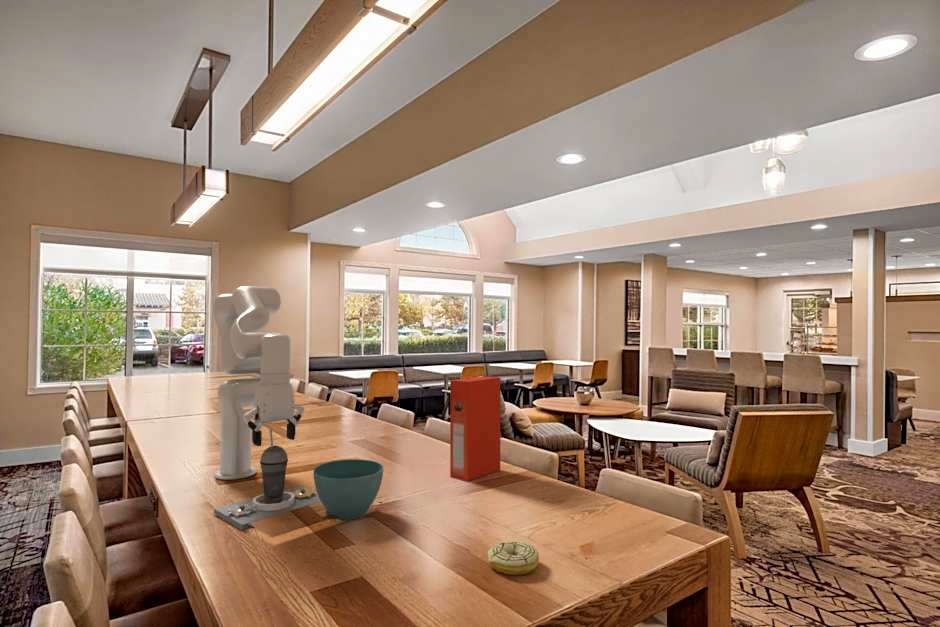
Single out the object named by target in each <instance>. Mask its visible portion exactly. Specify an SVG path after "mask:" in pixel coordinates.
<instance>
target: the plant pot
mask: <svg viewBox="0 0 940 627" xmlns="http://www.w3.org/2000/svg"><path fill="white" fill-rule="evenodd" d="M383 475H384V465H383V464H382V463H380V462H378V461H375V460H370V459H363V458H362V459H359V458H357V459H355V458H353V459H352V458H351V459H349V458H347V459H338V460H332V461H328V462H324V463H320V464H319V465H317V466H315V467H314V468H313V482H314V487H315V490H316V491H315V492H316V493H317V494H318V496H319V498H320V500H321V502H320V503H321V504H322V506H323V507H324V508H325V510H326V511H327V512H328V513H329V515H333V518H334V519H337V520H341V519H342V520H344V521H346V520H348V519H350V520H354V518H355V519H359V518H361V517H362V516H364V515H365V513H367V511H368V510H369V508H371V506H372V505H373V503H374V501H375V500H376V498H377V496H378V493H379V491H380V489H381V486H382V481H383ZM342 520H341V521H342ZM348 521H349V520H348Z"/></svg>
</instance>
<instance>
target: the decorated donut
mask: <svg viewBox="0 0 940 627" xmlns="http://www.w3.org/2000/svg"><path fill="white" fill-rule="evenodd" d="M539 554H540V553H539V551H538V549H537V548H536V547H535V546H533V545H531V544H529V543H525V542H520V541H505V542H501V543H499V544H495V545H493V546H492V547H491V548H489V550H488V552H487V557H488V564H489V567H490V568H491V569H493V570H495V571H496V572H497V573H502V574H504V575H510V576H524V575H527V574H531V573H532V572H533V571H534V570H535V569H536V567H537V566H538V564H539V563H540V556H539Z"/></svg>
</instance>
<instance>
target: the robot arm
mask: <svg viewBox="0 0 940 627" xmlns="http://www.w3.org/2000/svg"><path fill="white" fill-rule="evenodd" d="M281 301H282V300H281V295H280V292H279V291H278V290H277V289H276V288H274V287H271V286H251V285H243V286H240V287H237V288H236V289H234V290H233V292H232V293H223V294H220V295H218V296H216V297H215V298H214V299H213V303H212V314H213V319H214V322H215V324H216V327H217V329H218V332H219V337H220V338H219V339H220V342H219V343H220V359H221V360H220V361H221V368H222V371H223V373H224V374H225V375H229V376H242V375H243V376H244V375H247V376H248V375H256V376H257V377H253V378H252V377H250V378H234V379H233V378H232V379H227V380H224V381H223V382H221V383H220V384H219V385H218V387H217V397H218V398H217V399H218V405H219V406H218V407H219V416H220V418H219V419H220V420H219V424H220V425H219V426H220V427H219V428H220V429H219V430H220V432H219V433H220V434H219V435H220V436H219V440H220V442H219V443H220V444H219V469H218V470H216V471H215V472H214V477H215V478H216V479H218V480H227V481H229V480H238V479H243V478H248V477H251V476H253V475H255V474H256V472H257V469H256V467H254V466H252V443H253V446H256V447H261V446H262V438H263V437H262V435H263V434H262V430H261V429H262V427H263V425H264V424H268V423H269V424H270V423H274V422H276V423H277V422H281V421H287V422H288V423H286V439H289V440H292V441H294V440H295V436H296V425H298V422H299V421H300V420H301V418H302V415H303V414H304V411H305V408H304V407H303V406H301V405H298V404H296V403H295V397H294V396H295V395H294V389H293V385H292V383H291V379H294V377H295V375H294V374H293V373H291V339H290V336H289V335H287V334H283V333H281V332H258V331H260V330H262V329H263V328H265V327H266V326H267V325H268V323H269V321H270V317H272V316H273V315H275V314H277V313H278V311H279V310H280V307H281V304H282V303H281ZM250 407H252V409H250V410H249V411H247V412H246V411H245V408H250ZM295 411H296V412H295ZM252 418H253V420H254V421H252Z"/></svg>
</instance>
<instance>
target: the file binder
mask: <svg viewBox="0 0 940 627" xmlns="http://www.w3.org/2000/svg"><path fill="white" fill-rule="evenodd" d="M449 387H450V389H449V390H450V396H449V397H450V398H449V399H450V400H449V401H450V402H449V403H450V404H449V405H450V410H449V412H450V414H449V416H450V420H449V421H450V429H449V430H450V431H449V432H450V439H449V440H450V441H449V443H450V445H449V447H450V450H449V451H450V454H449V455H450V457H449V462H450V464H449V465H450V466H449V468H450V473H449V474H450V478H453V479H456V480H461V481H465V482H469V481H473V480H474V479H477V478H481V477H483V476H486V475H488V474H492V473H494V472H498V471H500V470H501V377H498V376H497V377H495V376H485V375H484V376H483V375H482V376H475V377H469V378H461V379H459V378H458V379H452V380H450V386H449Z"/></svg>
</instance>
